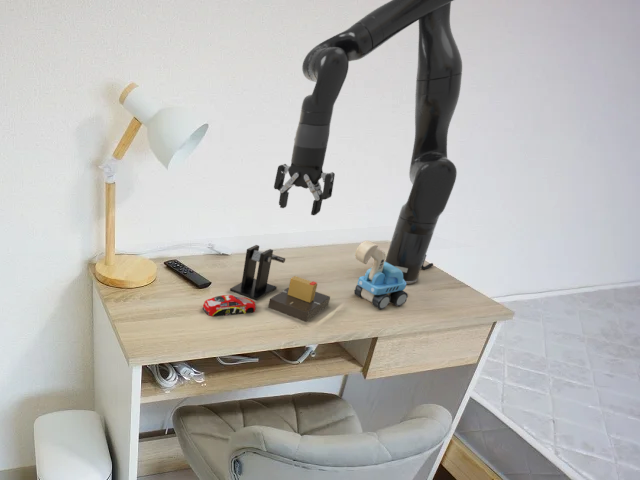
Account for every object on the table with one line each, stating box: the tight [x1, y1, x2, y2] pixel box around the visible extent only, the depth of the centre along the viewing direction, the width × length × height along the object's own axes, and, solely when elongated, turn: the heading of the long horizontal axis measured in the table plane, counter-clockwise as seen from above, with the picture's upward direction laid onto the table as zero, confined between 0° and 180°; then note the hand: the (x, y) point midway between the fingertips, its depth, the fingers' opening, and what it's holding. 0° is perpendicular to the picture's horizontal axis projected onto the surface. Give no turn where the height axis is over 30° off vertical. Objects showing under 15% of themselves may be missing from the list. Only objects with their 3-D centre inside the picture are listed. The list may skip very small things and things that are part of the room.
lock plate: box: [267, 286, 331, 322], centre depth 127 cm, size 12×10×3 cm
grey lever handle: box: [252, 250, 286, 264], centre depth 133 cm, size 12×5×2 cm, turn 137°
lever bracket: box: [229, 244, 277, 302], centre depth 132 cm, size 10×8×12 cm
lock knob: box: [288, 275, 318, 303], centre depth 125 cm, size 6×2×5 cm, turn 46°
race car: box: [202, 294, 257, 317], centre depth 124 cm, size 13×5×4 cm, turn 102°
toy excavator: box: [353, 240, 409, 310], centre depth 126 cm, size 9×17×17 cm, turn 111°
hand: (298, 210), depth 130 cm, fingers open, 8 cm apart
